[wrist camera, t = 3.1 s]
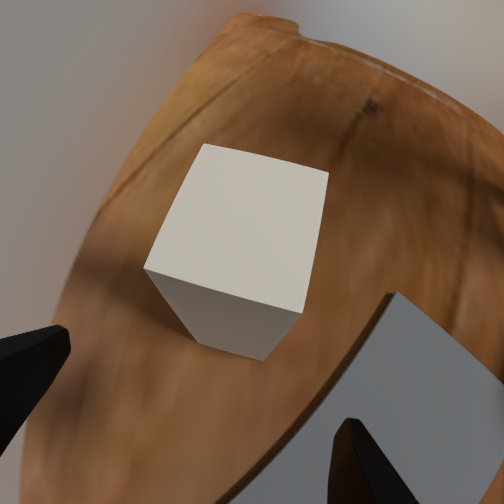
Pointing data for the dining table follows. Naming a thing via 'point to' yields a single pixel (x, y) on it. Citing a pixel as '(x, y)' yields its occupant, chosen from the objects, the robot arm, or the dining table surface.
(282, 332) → the card box
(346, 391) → the mat
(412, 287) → the dining table surface
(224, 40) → the dining table surface
